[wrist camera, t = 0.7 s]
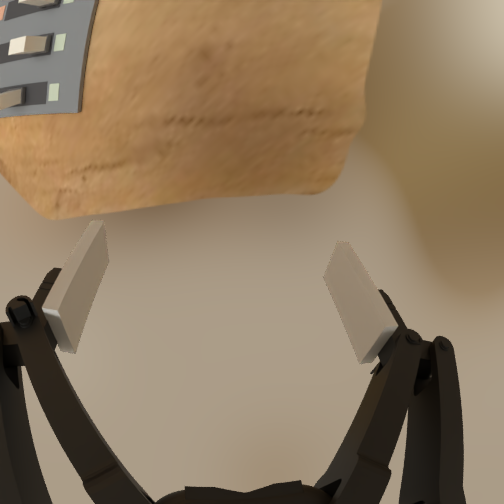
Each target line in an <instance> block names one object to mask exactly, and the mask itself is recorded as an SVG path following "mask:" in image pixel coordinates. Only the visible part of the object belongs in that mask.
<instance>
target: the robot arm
mask: <svg viewBox="0 0 504 504" xmlns="http://www.w3.org/2000/svg"><path fill="white" fill-rule="evenodd" d="M108 263H109V258H108V249H107V241H106V233H105V222H104V221H101V220H92V221H91V222H90V224H89V225H88V227H87V228H86V230H85V231H84V233H83V235H82V236H81V238H80V239H79V241H78V243H77V244H76V246H75V248H74V249H73V251H72V253H71V254H70V256H69V258H68V259H67V261H66V263H65V265H64V266H63V268H62V269H61V268H53V269H52V270H51V271H50V272H49V273H47V275H46V277H45V278H44V280H43V283H42V284H41V285H40V287H39V289H38V291H37V292H36V295H35V296H34V298H33V300H31V299H30V298H29V297H27V296H22V295H21V296H17V297H15V298H13V299H12V300H11V301H10V302H9V303H8V304H7V307H6V314H7V316H8V318H9V320H10V322H1V323H0V504H52V501H51V498H50V496H49V493H48V490H47V487H46V484H45V481H44V478H43V475H42V472H41V469H40V466H39V462H38V459H37V455H36V451H35V447H34V444H33V439H32V434H31V430H30V425H29V420H28V415H27V409H26V403H25V397H24V389H23V381H22V371H21V366H25V367H26V370H27V372H28V375H29V378H30V380H31V383H32V385H33V388H34V390H35V393H36V395H37V397H38V400H39V402H40V404H41V407H42V409H43V411H44V413H45V415H46V417H47V419H48V421H49V423H50V425H51V427H52V429H53V431H54V433H55V435H56V437H57V439H58V441H59V442H60V444H61V446H62V448H63V450H64V451H65V453H66V455H67V457H68V458H69V460H70V461H71V463H72V465H73V466H74V468H75V469H76V471H77V473H78V474H79V476H80V477H81V479H82V481H83V486H84V488H85V490H86V492H87V493H88V495H89V496H90V497H91V499H92V500H93V502H94V503H95V504H379V502H380V500H381V498H382V496H383V494H384V492H385V489H386V486H387V485H388V482H389V480H390V477H391V470H390V469H389V468H388V465H389V462H390V460H391V457H392V454H393V452H394V449H395V446H396V443H397V441H398V438H399V435H400V432H401V429H402V425H403V422H404V419H405V416H406V413H407V409H408V423H407V438H406V450H405V460H404V468H403V476H402V482H401V489H400V497H399V504H466V501H465V495H464V491H463V465H464V464H463V463H464V455H463V454H464V445H463V421H462V408H461V397H460V388H459V380H458V373H457V366H456V360H455V354H454V348H453V346H452V344H451V342H450V341H449V340H448V339H447V338H445V337H443V336H437V337H436V338H435V339H434V341H433V342H429V341H425V340H422V338H421V336H420V335H419V334H418V333H417V332H415V331H414V330H411V329H407V327H406V326H405V324H404V322H403V320H402V318H401V317H400V315H399V313H398V311H397V310H396V308H395V306H394V305H393V303H392V301H391V299H390V298H389V296H388V295H387V294H386V293H385V292H384V291H383V290H378V289H377V287H376V286H375V284H374V282H373V281H372V279H371V277H370V276H369V274H368V273H367V271H366V270H365V268H364V266H363V264H362V263H361V261H360V259H359V258H358V256H357V255H356V253H355V252H354V250H353V249H352V247H351V245H350V244H349V243H348V242H341V241H337V244H336V246H335V249H334V252H333V254H332V257H331V259H330V262H329V265H328V267H327V270H326V272H325V275H324V277H323V278H324V280H325V282H326V285H327V287H328V289H329V291H330V294H331V296H332V298H333V301H334V303H335V305H336V308H337V310H338V312H339V315H340V317H341V320H342V322H343V324H344V327H345V329H346V332H347V334H348V336H349V339H350V341H351V344H352V346H353V349H354V351H355V354H356V356H357V359H358V361H359V364H363V363H371V362H373V361H374V359H375V358H376V357H377V355H378V357H379V359H380V362H379V363H378V364H377V365H376V367H375V368H374V369H373V370H372V372H371V373H370V374H373V373H374V374H373V377H372V379H371V381H370V384H369V386H368V389H367V391H366V393H365V396H364V398H363V400H362V402H361V405H360V407H359V409H358V411H357V414H356V416H355V418H354V420H353V422H352V424H351V426H350V428H349V430H348V432H347V434H346V436H345V438H344V440H343V442H342V444H341V446H340V448H339V450H338V451H337V453H336V455H335V457H334V459H333V461H332V462H331V464H330V466H329V468H328V469H327V471H326V473H325V474H324V475H323V476H322V477H321V478H320V479H319V480H318V481H317V483H316V484H315V486H314V487H312V486H308V485H302V483H301V480H299V481H292V482H285V483H276V484H272V485H269V486H266V487H264V488H260V489H257V490H254V491H251V492H247V493H243V492H237V491H231V490H226V489H221V488H216V487H188V486H185V490H181V491H177V492H174V493H171V494H168V495H166V496H164V497H162V498H161V499H159V500H158V501H157V502H154V501H153V500H152V498H151V497H150V496H149V495H148V494H147V493H146V492H145V491H144V490H143V488H142V487H141V486H140V485H139V484H138V483H137V482H136V481H135V479H134V478H133V477H132V476H131V475H130V473H129V472H128V471H127V469H126V468H125V467H124V466H123V464H122V463H121V462H120V460H119V459H118V458H117V456H116V455H115V454H114V452H113V451H112V450H111V448H110V447H109V445H108V444H107V442H106V441H105V439H104V438H103V437H102V435H101V434H100V432H99V431H98V429H97V427H96V426H95V424H94V423H93V421H92V419H91V418H90V416H89V415H88V413H87V411H86V410H85V408H84V407H83V405H82V403H81V401H80V399H79V397H78V396H77V394H76V392H75V390H74V389H73V387H72V385H71V383H70V381H69V379H68V377H67V375H66V373H65V371H64V369H63V367H62V365H61V363H60V361H59V359H58V357H57V355H56V352H55V348H56V345H57V344H58V346H59V348H60V350H61V351H63V352H69V353H74V354H75V353H76V350H77V347H78V343H79V341H80V338H81V335H82V332H83V329H84V326H85V323H86V320H87V317H88V314H89V312H90V309H91V306H92V303H93V301H94V298H95V295H96V293H97V290H98V287H99V285H100V283H101V280H102V278H103V275H104V273H105V270H106V268H107V266H108Z"/></svg>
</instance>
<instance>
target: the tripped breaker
mask: <svg viewBox="0 0 504 504" xmlns="http://www.w3.org/2000/svg"><path fill="white" fill-rule="evenodd" d="M25 93H26V87H21V88H14V89H9V90H7V92H3V93H0V110H2V109H5V108H8V107H11V106H14V105H21V104H24V103H25Z"/></svg>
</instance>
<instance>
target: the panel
mask: <svg viewBox="0 0 504 504" xmlns="http://www.w3.org/2000/svg"><path fill="white" fill-rule="evenodd" d="M98 1H99V0H59V3H58V5H54V6H49V7H44V8H37V7H38V6H35V5H30V4H24V3H18V2H19V0H0V93H3V92H7V90H9V89H14V88H21V87H26V93H25V103H24V104H21V105H14V106H11V107H8V108H5V109H2V110H0V118H2V117H11V116H21V115H33V114H51V113H78V112H80V111H81V106H82V94H83V84H84V76H85V68H86V61H87V54H88V48H89V42H90V37H91V32H92V27H93V22H94V17H95V13H96V9H97V5H98ZM46 35H52V36H51V41H50V48H49V52H46V53H39V54H34V55H28V54H15V55H8V53H9V46H10V40H11V39H15V38H19V37H23V36H46Z"/></svg>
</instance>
